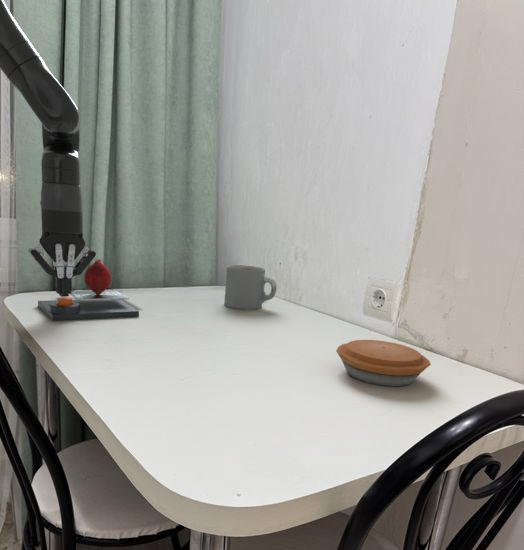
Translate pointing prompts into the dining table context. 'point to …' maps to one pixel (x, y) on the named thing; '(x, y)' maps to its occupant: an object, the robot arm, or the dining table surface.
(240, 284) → the coffee mug
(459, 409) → the dining table surface
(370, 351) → the pie
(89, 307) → the scale
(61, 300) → the tare button
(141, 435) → the dining table surface
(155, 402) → the dining table surface
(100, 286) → the onion
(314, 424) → the dining table surface
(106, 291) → the weighing plate
